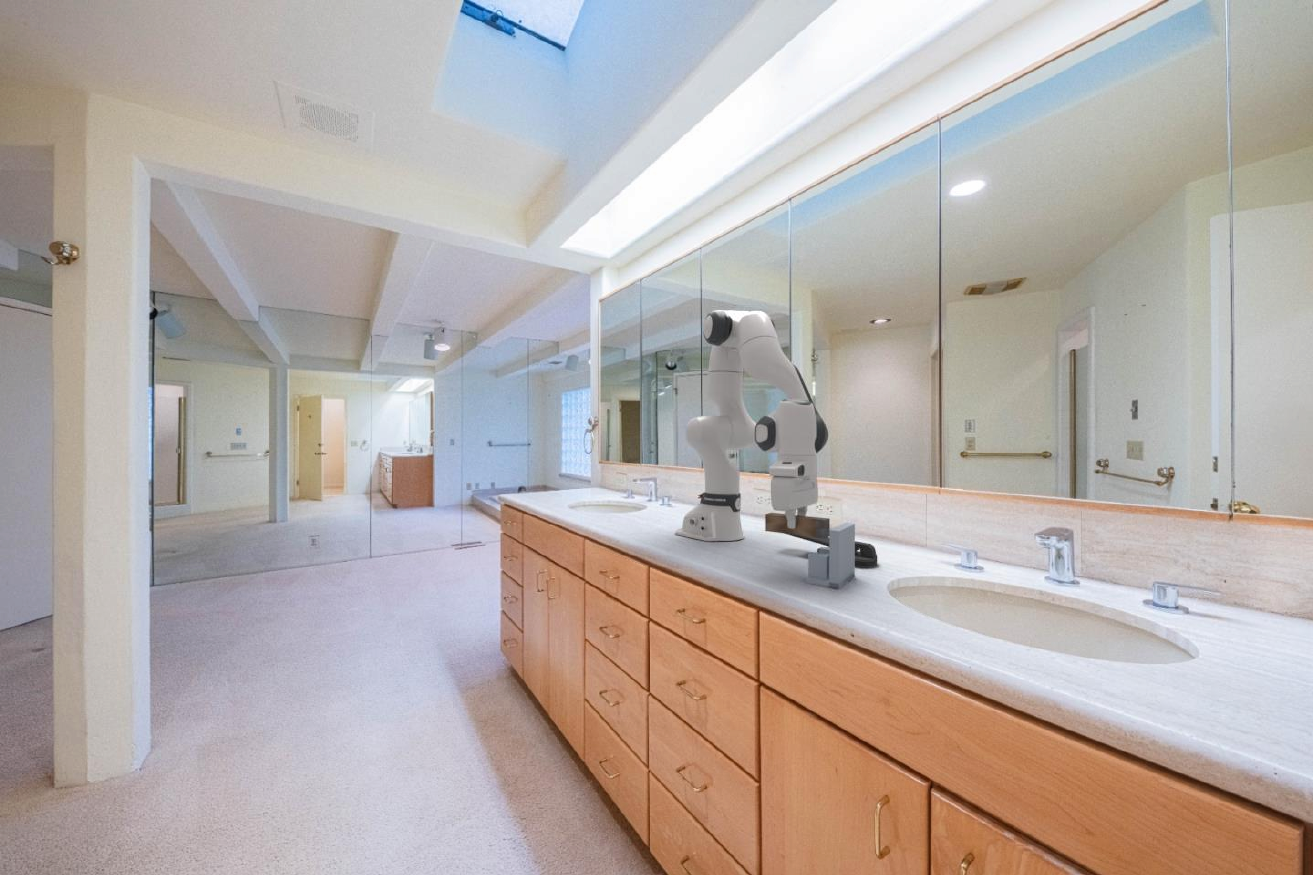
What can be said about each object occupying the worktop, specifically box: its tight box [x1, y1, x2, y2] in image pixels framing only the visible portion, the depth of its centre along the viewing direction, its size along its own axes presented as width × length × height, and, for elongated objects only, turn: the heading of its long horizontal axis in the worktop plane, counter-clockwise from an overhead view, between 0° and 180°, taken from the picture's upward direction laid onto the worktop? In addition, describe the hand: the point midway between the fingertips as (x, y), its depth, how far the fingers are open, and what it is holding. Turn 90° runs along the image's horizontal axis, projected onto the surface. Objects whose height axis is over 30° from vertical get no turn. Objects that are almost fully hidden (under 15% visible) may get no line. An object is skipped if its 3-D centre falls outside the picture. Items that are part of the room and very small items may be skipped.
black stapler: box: [786, 534, 878, 569], centre depth 122 cm, size 9×7×25 cm
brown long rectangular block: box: [764, 512, 831, 539], centre depth 107 cm, size 14×4×4 cm, turn 52°
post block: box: [805, 522, 856, 590], centre depth 102 cm, size 7×12×12 cm, turn 142°
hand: (796, 526), depth 107 cm, fingers closed on brown long rectangular block, 3 cm apart
